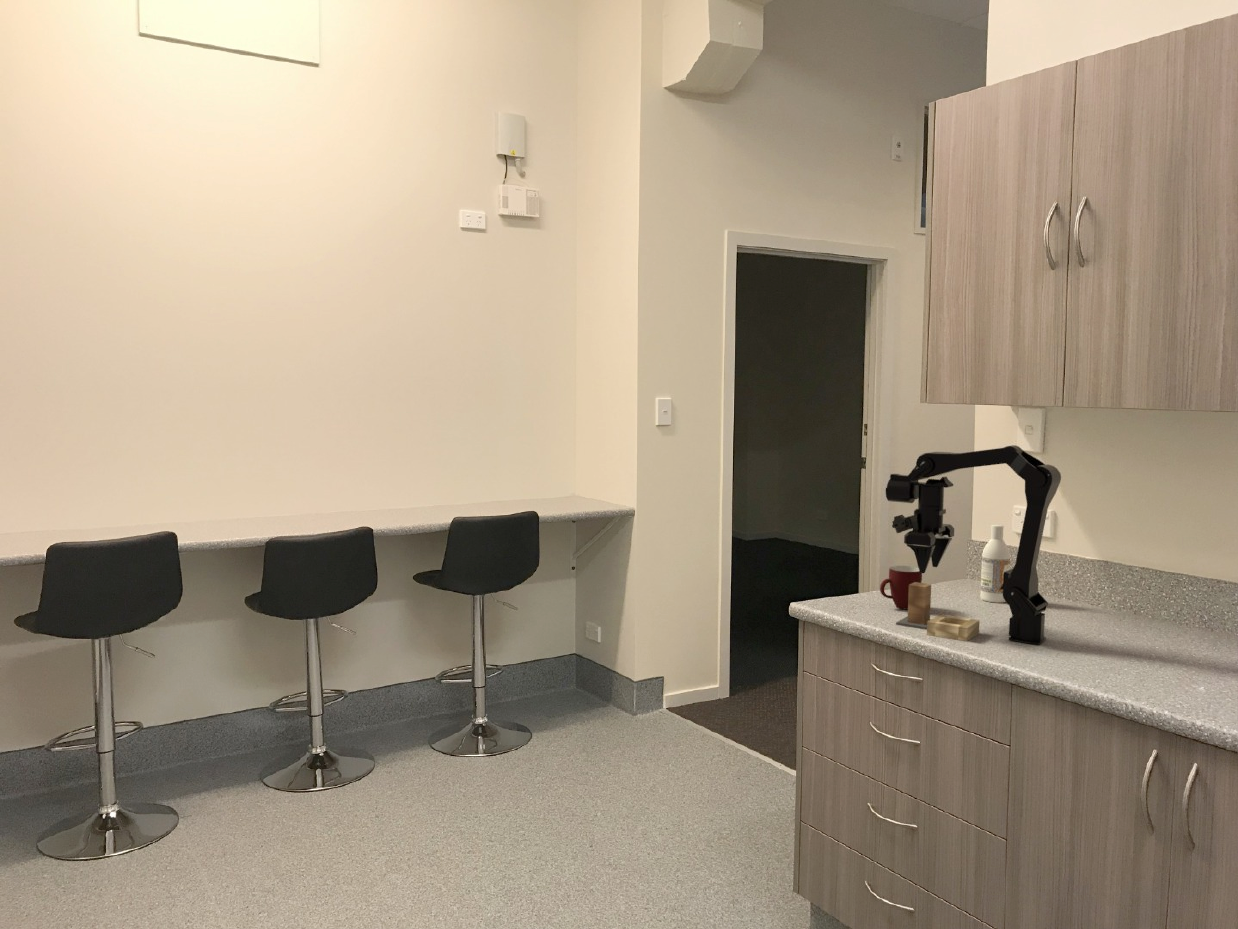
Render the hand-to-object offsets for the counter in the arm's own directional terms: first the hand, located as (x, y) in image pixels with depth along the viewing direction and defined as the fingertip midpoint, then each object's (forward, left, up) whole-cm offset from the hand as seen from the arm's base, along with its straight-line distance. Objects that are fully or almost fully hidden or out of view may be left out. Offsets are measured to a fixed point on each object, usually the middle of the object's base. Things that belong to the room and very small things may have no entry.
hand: (928, 570), depth 234 cm
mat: (+1, +2, -13) cm, 13 cm away
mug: (+11, -11, -13) cm, 20 cm away
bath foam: (-6, -35, -13) cm, 38 cm away
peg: (+1, +2, -12) cm, 13 cm away
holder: (-8, +6, -13) cm, 16 cm away
